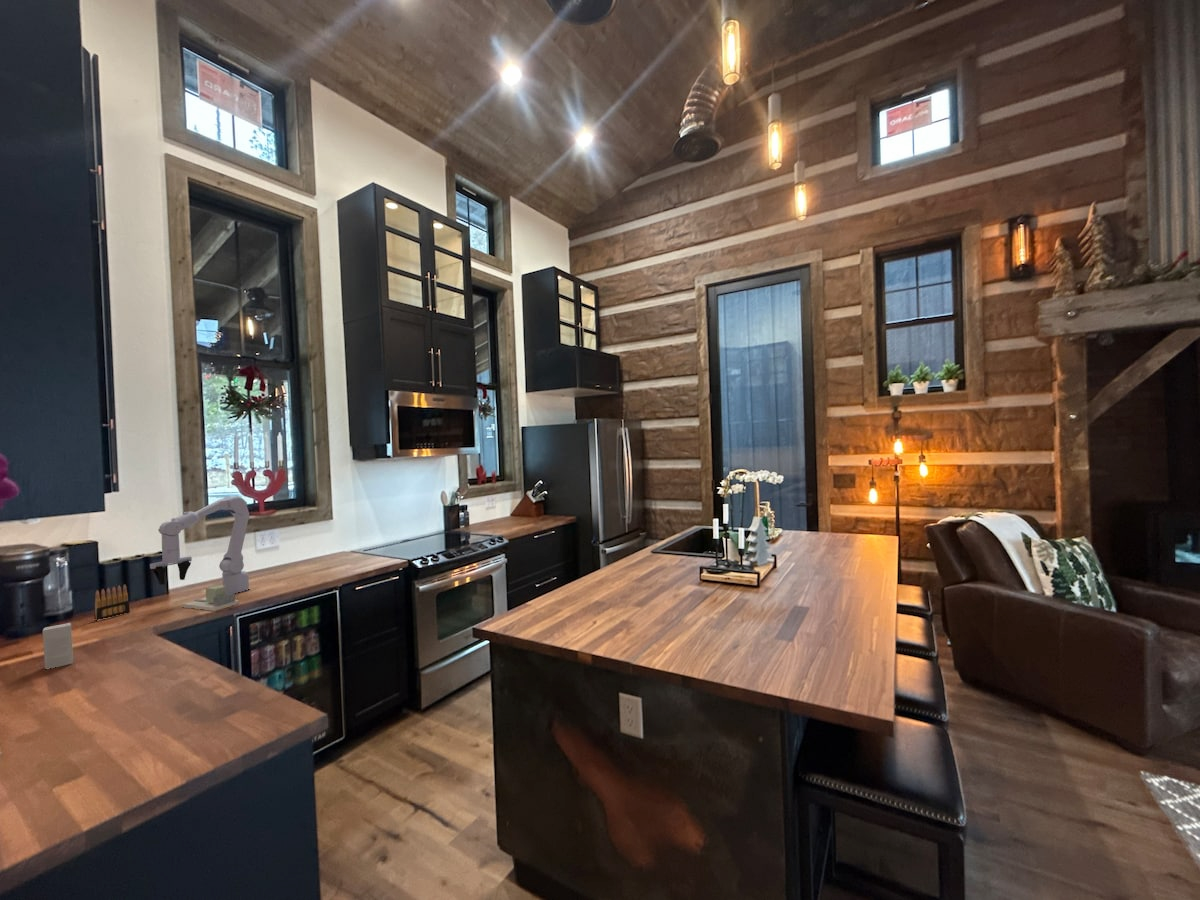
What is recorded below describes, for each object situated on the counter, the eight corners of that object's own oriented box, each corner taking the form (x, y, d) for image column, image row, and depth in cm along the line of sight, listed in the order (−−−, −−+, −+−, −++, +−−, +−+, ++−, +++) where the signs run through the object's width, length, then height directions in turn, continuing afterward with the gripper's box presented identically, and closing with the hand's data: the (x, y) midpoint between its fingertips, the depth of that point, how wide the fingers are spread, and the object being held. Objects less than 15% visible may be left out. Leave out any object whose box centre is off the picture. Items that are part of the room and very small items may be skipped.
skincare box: (73, 660, 162) (71, 622, 162) (73, 663, 159) (71, 625, 159) (45, 666, 158) (43, 627, 158) (44, 670, 155) (42, 630, 155)
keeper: (216, 599, 219) (215, 585, 219) (225, 600, 217) (225, 586, 217) (206, 602, 216) (205, 588, 216) (215, 603, 214) (215, 588, 214)
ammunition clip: (96, 621, 202) (95, 590, 202) (94, 621, 203) (92, 590, 203) (130, 612, 212) (128, 583, 212) (127, 612, 213) (126, 583, 213)
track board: (207, 600, 226) (207, 596, 226) (239, 603, 219) (239, 599, 219) (182, 607, 217) (182, 603, 217) (214, 611, 209) (214, 606, 209)
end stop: (231, 600, 218) (230, 592, 218) (235, 601, 217) (234, 593, 217) (213, 605, 212) (213, 597, 212) (217, 606, 211) (217, 597, 211)
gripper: (183, 546, 227) (185, 577, 227) (144, 553, 213) (146, 585, 213) (194, 546, 224) (195, 578, 224) (155, 553, 211) (157, 586, 211)
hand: (172, 581), depth 219 cm, fingers open, 7 cm apart
